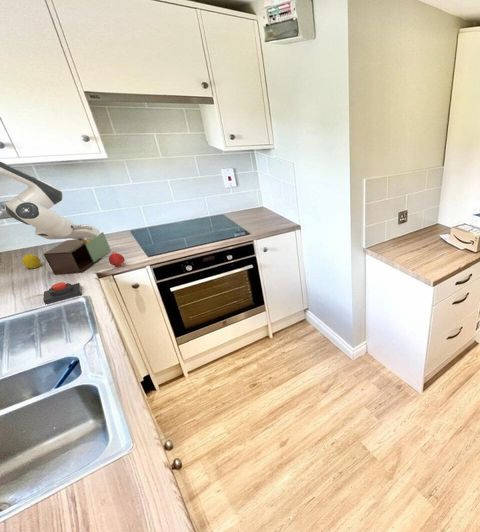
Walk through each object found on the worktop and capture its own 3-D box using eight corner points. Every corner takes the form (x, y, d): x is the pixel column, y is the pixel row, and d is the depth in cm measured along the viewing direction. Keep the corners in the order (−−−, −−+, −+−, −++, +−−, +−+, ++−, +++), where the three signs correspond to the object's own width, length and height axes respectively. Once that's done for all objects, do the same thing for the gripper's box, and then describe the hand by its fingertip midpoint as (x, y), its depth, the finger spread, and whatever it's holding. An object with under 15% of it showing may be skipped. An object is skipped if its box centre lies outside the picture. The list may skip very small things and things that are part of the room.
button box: (45, 305, 129) (40, 296, 127) (46, 295, 135) (41, 287, 133) (82, 295, 135) (78, 287, 134) (81, 287, 141) (77, 279, 139)
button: (53, 291, 131) (51, 288, 130) (53, 288, 133) (51, 284, 133) (66, 288, 133) (65, 284, 132) (66, 284, 136) (65, 281, 135)
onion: (112, 270, 155) (105, 255, 152) (111, 266, 159) (105, 251, 155) (127, 266, 159) (121, 252, 155) (126, 262, 162) (120, 248, 159)
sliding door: (96, 262, 161) (82, 233, 154) (92, 262, 161) (79, 233, 154) (112, 250, 174) (101, 223, 167) (109, 250, 174) (98, 223, 167)
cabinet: (82, 272, 152) (72, 251, 147) (54, 274, 150) (43, 253, 145) (102, 258, 166) (93, 238, 161) (76, 260, 164) (66, 240, 159)
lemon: (31, 267, 156) (22, 252, 152) (46, 265, 158) (38, 250, 154) (25, 272, 152) (16, 257, 148) (40, 270, 153) (32, 255, 150)
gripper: (87, 219, 145) (108, 231, 158) (33, 221, 140) (59, 234, 153) (85, 231, 143) (107, 243, 156) (30, 234, 139) (57, 246, 152)
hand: (83, 238), depth 155 cm, fingers closed, pressing on sliding door
